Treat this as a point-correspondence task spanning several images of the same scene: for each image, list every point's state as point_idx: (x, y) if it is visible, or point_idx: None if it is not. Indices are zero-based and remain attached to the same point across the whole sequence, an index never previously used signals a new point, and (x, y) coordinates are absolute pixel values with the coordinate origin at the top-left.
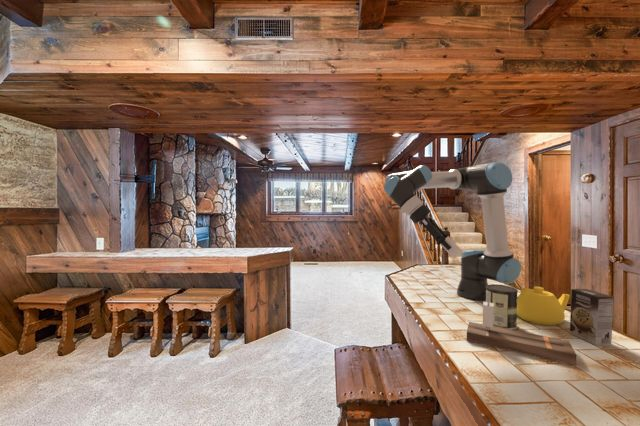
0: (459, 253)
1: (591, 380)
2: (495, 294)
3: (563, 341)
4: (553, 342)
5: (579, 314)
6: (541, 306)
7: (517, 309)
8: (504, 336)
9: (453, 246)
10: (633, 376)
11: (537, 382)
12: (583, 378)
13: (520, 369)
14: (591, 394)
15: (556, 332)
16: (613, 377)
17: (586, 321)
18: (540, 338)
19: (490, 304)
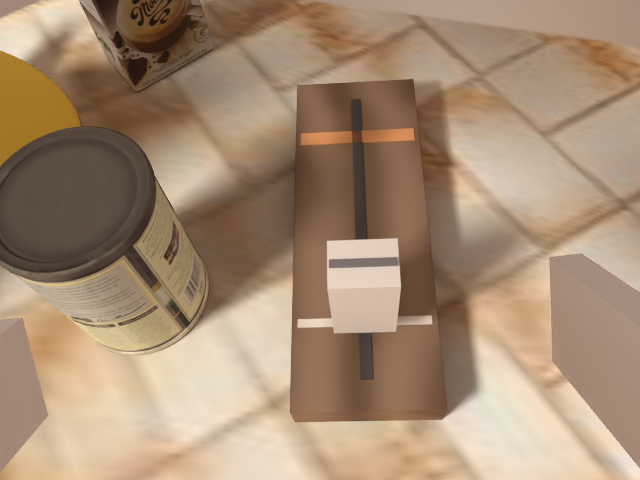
0: (589, 262)
1: (492, 85)
2: (148, 235)
3: (315, 97)
4: (345, 122)
5: (141, 6)
6: (39, 107)
7: None
8: None
9: (631, 303)
10: (393, 13)
11: (621, 193)
12: (494, 98)
13: (567, 231)
14: (581, 94)
15: (144, 124)
16: (432, 45)
17: (170, 7)
18: (331, 152)
19: (362, 253)
